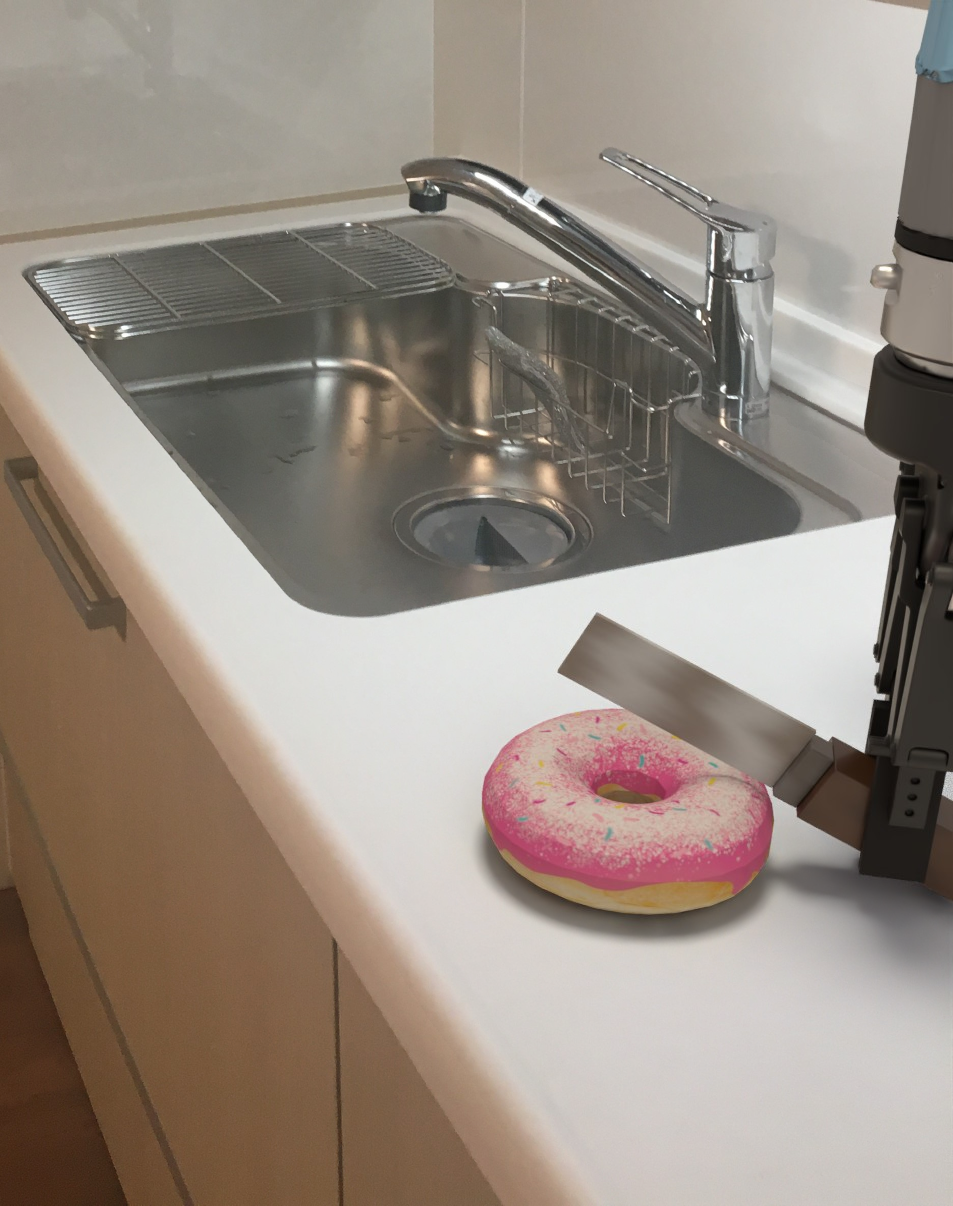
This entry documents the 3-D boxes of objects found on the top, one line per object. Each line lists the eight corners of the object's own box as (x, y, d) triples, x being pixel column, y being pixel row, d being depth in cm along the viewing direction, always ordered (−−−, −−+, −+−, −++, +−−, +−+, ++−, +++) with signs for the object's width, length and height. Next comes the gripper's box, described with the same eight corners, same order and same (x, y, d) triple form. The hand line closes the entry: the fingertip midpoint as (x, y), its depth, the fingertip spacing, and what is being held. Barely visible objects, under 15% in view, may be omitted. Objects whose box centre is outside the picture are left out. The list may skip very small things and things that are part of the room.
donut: (521, 950, 72) (527, 856, 70) (449, 787, 84) (452, 702, 82) (817, 923, 73) (833, 830, 71) (704, 766, 85) (714, 681, 83)
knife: (949, 866, 76) (998, 813, 74) (957, 904, 73) (1008, 850, 72) (560, 656, 77) (598, 598, 75) (554, 686, 74) (594, 627, 73)
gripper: (862, 292, 72) (794, 750, 83) (892, 415, 59) (806, 946, 69) (1051, 300, 70) (957, 769, 81) (1127, 429, 57) (1002, 974, 67)
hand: (887, 849), depth 75 cm, fingers closed on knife, 3 cm apart
